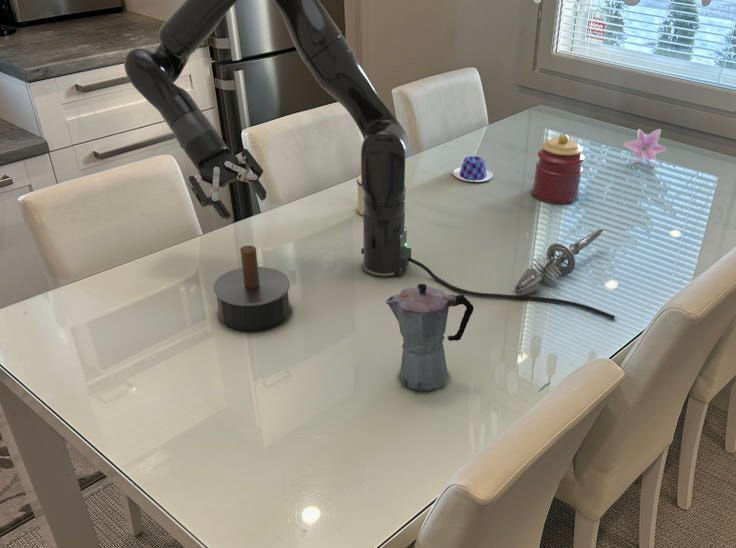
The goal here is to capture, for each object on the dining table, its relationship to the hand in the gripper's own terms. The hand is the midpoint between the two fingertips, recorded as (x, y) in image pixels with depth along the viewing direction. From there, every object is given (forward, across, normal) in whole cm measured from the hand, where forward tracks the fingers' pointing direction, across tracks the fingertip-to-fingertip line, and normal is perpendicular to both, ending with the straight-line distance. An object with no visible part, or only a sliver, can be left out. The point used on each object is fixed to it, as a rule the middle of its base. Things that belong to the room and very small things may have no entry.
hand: (246, 208), depth 147 cm
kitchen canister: (+33, +88, +25) cm, 97 cm away
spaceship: (+49, +54, -3) cm, 72 cm away
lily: (+40, +131, +33) cm, 141 cm away
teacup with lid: (+10, +42, +33) cm, 54 cm away
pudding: (+15, +78, +40) cm, 89 cm away
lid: (+14, -8, +2) cm, 16 cm away
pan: (+18, -9, +7) cm, 21 cm away
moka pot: (+47, +4, -18) cm, 51 cm away
